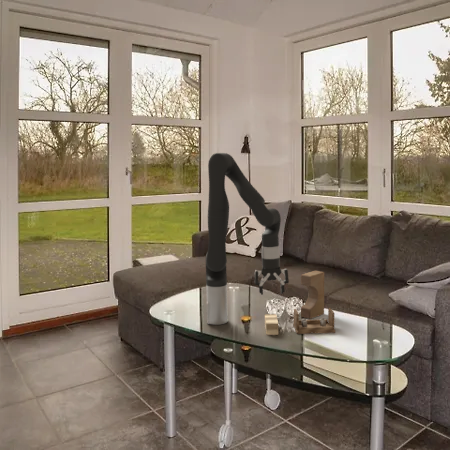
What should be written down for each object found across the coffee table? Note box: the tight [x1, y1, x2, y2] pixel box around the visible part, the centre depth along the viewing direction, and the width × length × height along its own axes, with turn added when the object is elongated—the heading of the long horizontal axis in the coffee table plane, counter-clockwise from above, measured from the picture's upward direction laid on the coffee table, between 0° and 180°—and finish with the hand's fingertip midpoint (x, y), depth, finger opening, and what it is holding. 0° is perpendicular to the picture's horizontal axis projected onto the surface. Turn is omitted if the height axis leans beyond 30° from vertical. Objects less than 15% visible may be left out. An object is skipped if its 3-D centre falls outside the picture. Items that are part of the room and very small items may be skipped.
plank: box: [264, 313, 279, 336], centre depth 219 cm, size 12×5×5 cm, turn 178°
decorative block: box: [300, 270, 325, 320], centre depth 235 cm, size 11×6×20 cm, turn 132°
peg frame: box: [292, 307, 336, 335], centre depth 218 cm, size 16×10×8 cm, turn 91°
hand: (271, 293), depth 217 cm, fingers open, 8 cm apart
